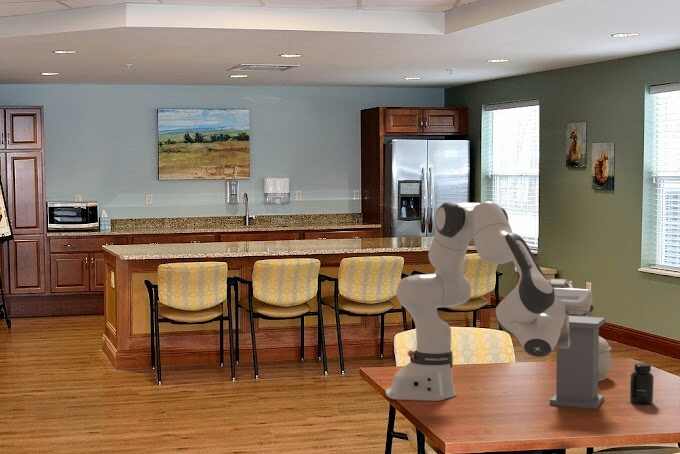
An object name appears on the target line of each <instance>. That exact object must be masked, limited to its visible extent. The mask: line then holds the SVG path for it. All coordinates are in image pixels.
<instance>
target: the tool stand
mask: <svg viewBox="0 0 680 454" xmlns="http://www.w3.org/2000/svg"><path fill="white" fill-rule="evenodd" d="M605 323H606V318H605V317H597V316H596V317H595V316H592V317H588V316H584V317H583V316H579V315H569V329H570V343H571V344H570V346H569V349H562V348H556V390H555V392H556V393H555V394H554V396H552V397H551V398H550V399H549V405H552V406H562V407H571V408H579V409H588V410H589V409H590V410H597V409H598V408H599V407H600V405H601V404H602V403H603V402H604V400H605V399H604V397H605V395H604V394H603V395H602V394H599V381H598V354H599V336H600V334H599V333H600V328H601V326H604V324H605Z"/></svg>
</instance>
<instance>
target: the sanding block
mask: <svg viewBox="0 0 680 454" xmlns="http://www.w3.org/2000/svg"><path fill="white" fill-rule="evenodd" d="M550 280H551V281H550V283H551V284H552V286H553V288H566V281H567V279H564V278H551V279H550ZM569 316H570V314H566V317H565V321H564V324H563V326H562V328H561V333H560V336H559V339H558V342H557V344H556V346H555V348H554V349H557V348H562V349H569V346H570V344H571V343H570V329H569Z"/></svg>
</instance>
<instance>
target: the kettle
mask: <svg viewBox="0 0 680 454" xmlns="http://www.w3.org/2000/svg"><path fill="white" fill-rule="evenodd" d="M593 311H594V306H593V304H591V306H590V311H589V312H588V313H584V314H583V315H578V316H583V317H586V315H587V317H593V313H592V312H593ZM611 351H612V347H611V346H610V345H609V343H608V342H607V340H606V339H605V338H603V337H602V336H600V335H599V354H598V382H602V381H605V380H606V378H607V377H606V375H608V374H609V372H610V371H611V370H612V368H613V358H612V354H611Z"/></svg>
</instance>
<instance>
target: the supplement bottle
mask: <svg viewBox="0 0 680 454" xmlns="http://www.w3.org/2000/svg"><path fill="white" fill-rule="evenodd" d="M651 366H652V365H651V364H649V363H645V362H644V363H643V362H637V363H636V362H635V363H634V369H633V370H634V371H633V372H632V373H631V374H630V388H629V389H630V390H629V391H630V392H629V401H630V402H631V403H632V404H634V405H643V406H648V405H651V404H653V402H654V400H653V399H654V383H655V382H654V380H655V379H654V375H653V373H651Z"/></svg>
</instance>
